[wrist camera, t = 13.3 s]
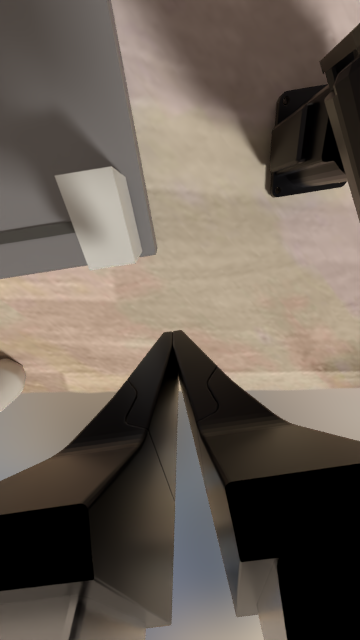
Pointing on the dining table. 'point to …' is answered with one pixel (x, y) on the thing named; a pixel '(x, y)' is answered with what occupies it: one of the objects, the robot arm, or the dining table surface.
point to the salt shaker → (10, 381)
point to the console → (60, 127)
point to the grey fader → (101, 216)
